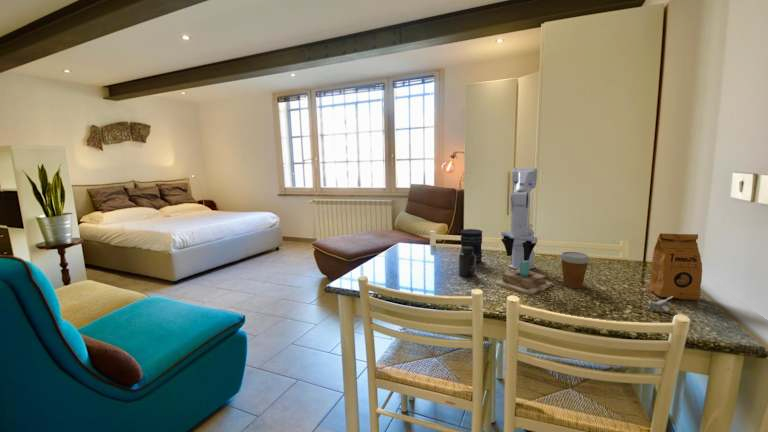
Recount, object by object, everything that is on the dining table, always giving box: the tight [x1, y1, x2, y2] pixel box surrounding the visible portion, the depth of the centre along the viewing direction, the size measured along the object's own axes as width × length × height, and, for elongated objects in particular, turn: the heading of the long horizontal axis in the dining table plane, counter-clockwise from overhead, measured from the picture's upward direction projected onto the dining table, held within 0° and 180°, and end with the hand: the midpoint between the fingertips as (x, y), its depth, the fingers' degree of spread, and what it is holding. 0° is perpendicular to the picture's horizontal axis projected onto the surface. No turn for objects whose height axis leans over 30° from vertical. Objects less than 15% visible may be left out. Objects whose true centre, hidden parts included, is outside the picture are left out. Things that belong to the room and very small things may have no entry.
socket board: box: [494, 269, 554, 296], centre depth 130 cm, size 16×14×4 cm
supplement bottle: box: [458, 246, 476, 278], centre depth 142 cm, size 7×7×12 cm
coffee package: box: [648, 232, 703, 301], centre depth 115 cm, size 10×12×22 cm
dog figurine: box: [647, 296, 674, 313], centre depth 105 cm, size 3×8×6 cm
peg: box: [520, 261, 530, 278], centre depth 129 cm, size 3×3×8 cm
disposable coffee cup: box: [559, 251, 590, 289], centre depth 127 cm, size 10×10×12 cm
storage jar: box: [460, 228, 483, 266], centre depth 160 cm, size 10×10×15 cm
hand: (517, 257), depth 132 cm, fingers open, 7 cm apart
